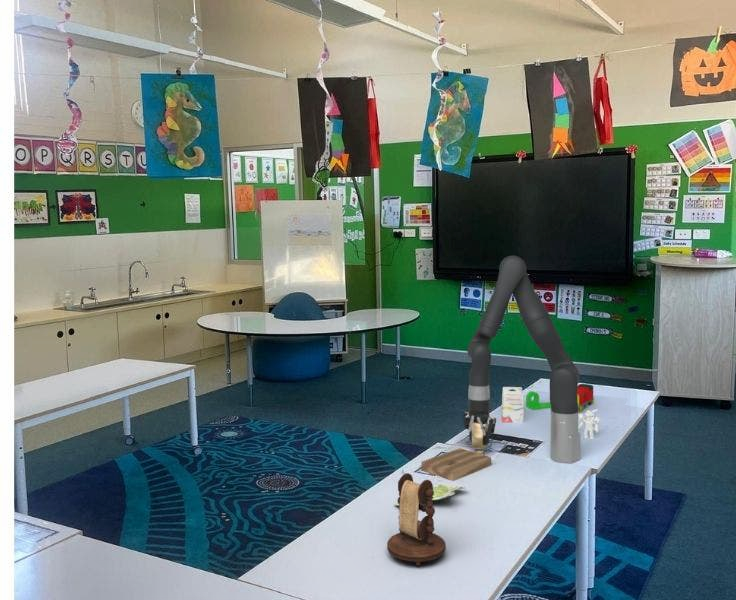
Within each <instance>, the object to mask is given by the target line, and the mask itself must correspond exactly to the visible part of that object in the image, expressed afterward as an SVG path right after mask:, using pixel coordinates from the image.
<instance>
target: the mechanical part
mask: <svg viewBox="0 0 736 600" xmlns="http://www.w3.org/2000/svg"><path fill="white" fill-rule="evenodd" d="M532 397H533V399H532ZM525 408H528V409H530V410H532V411H536V410H544V409H551V404H550V401H547V402H540V395H539V394H538V393H537V392H536V391H533V390H532V391H531V390H530V391H529V392H527V393H526V397H525Z"/></svg>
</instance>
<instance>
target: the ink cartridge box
mask: <svg viewBox="0 0 736 600" xmlns="http://www.w3.org/2000/svg"><path fill="white" fill-rule="evenodd" d="M501 395H502V396H501V421H502V423H524V414H525V413H524V410H525V409H524V407H525V406H524V402H525V401H524V399H525V398H524V394H523V388H522V387H521V386H519V387H518V386H517V387H516V386H503V387H502V394H501Z"/></svg>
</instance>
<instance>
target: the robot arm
mask: <svg viewBox="0 0 736 600" xmlns="http://www.w3.org/2000/svg"><path fill="white" fill-rule="evenodd" d="M498 269H499V271H498V276H497V281H496V284H495V288H494V290H493V293H492V295H491V297H490V300H489V301H488V304H487V305H486V308H485V310H484V312H483V314H482V317H481V319H480V322H479V323H478V327H477V329H476V330H475V332H474V334H473V335H472V337H471V338H470V341H469V343H468V346H467V355H468V356H469V358H470V359H471V369H469V374H468V394H467V395H468V397H467V398H468V399H467V400H468V402H467V403H468V410H467V411H464V412H462V413H461V415H462V421H463V426H464V429H466V430H468V433H469V441H470V442H471V443H472V423H473V422H475V423H479V424H480V429H482V432H483V445H486V446H487V445H488V444H489V443H490V435H493V434H495V428H496V423H497V418H496V417H491V416H490V413H489V412H490V409H491V408H490V407H491V404H490V403H491V402H490V401H491V398H490V396H491V391H490V368H491V361H492V351H491V347H490V344H491V342H492V340H493V339H494V338H496V336H497V335H498V332H499V331H500V327H501V325H502V323H503V320H504V317H505V314H506V312H507V308H508V305H509V303H510V300H511V298H512V296H513V298H514V300H515V303H516V306H517V309H518V311H519V314H520V317H521V319H522V322H523V324H524V326H525V328H526V330H527V332H528V334H529V336H530V338H531V340H532V341H533V342H534V344H535V345H536V346H537V347H538V349H540V351H541V352H542V354H543V355H544V357H545V359H546V360H547V363H548V365H549V367H550V370H551V374H550V376H549V402H550V404H551V408H550V460H552V461H555V462H556V463H557V462H558V463H564V464H574V463H576V462H578V461H580V460H581V432H579V428H578V426H579V420H578V416H579V412H578V402H577V386H578V385H579V384H580V380H581V379H580V377H581V375H580V372H579V370H578V368H577V367H576V365H575V364H574V362H573V360H572V359H571V357H570V356H569V354H568V352H567V350H566V348H565V347H564V345H563V342H562V339H561V337H560V335H559V333H558V330H557V328H556V325H555V323H554V321H553V318H552V317H551V315H550V313H549V311H548V310H547V308H546V306H545V304H544V303H543V301H542V300H541V298H540V297H539V295H538V294H537V292H536V291H535V289H534V287H533V285H532V282H531V279H530V277H529V275H528V273H527V265H526V263H525V261H524V260H523V258H521V257H520V256H517V255H509V256H506V257H504V258H503V260H501V261H500V263H499V267H498ZM483 424H486V426H483ZM485 428H486V430H485Z"/></svg>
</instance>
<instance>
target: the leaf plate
mask: <svg viewBox="0 0 736 600" xmlns="http://www.w3.org/2000/svg"><path fill="white" fill-rule="evenodd" d="M459 489H463V490H464V489H466V486H465V485H463V486H461V487H460V486H453V487H452V486H447V485H445V484H444V483H440V484H438V486H433V491H434V495H433V496H432V497H433V499H432V501H439V500H444V499H447V498H449V497H451V496H455V495H456V492H455V491H457V490H459ZM393 505H394V506H398V507H400V506H399V504H398V502H395V503H394V504H393Z"/></svg>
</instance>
